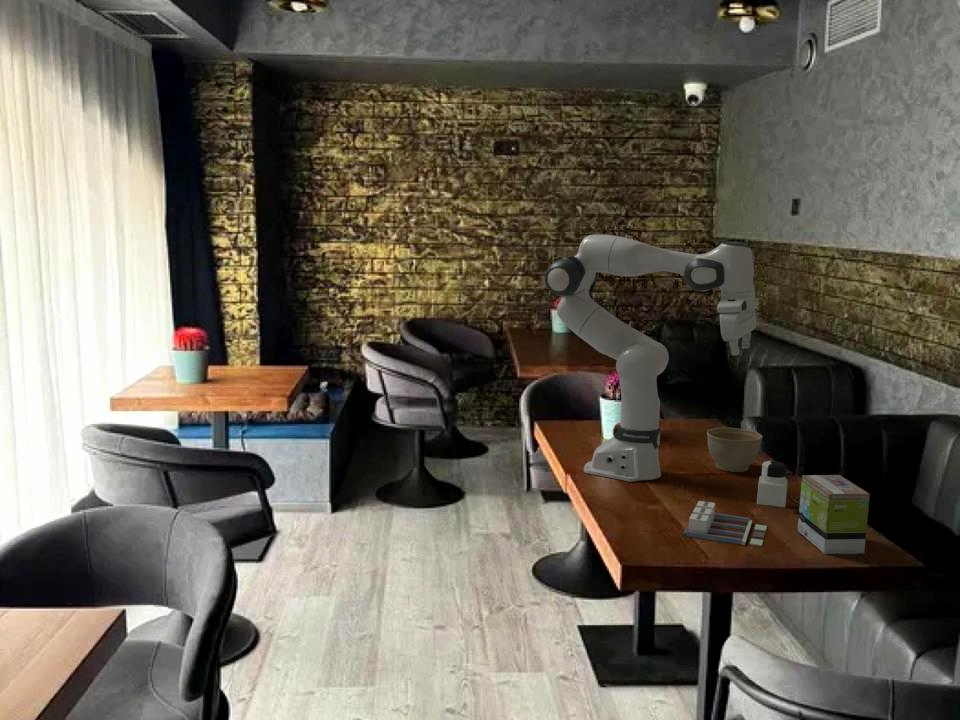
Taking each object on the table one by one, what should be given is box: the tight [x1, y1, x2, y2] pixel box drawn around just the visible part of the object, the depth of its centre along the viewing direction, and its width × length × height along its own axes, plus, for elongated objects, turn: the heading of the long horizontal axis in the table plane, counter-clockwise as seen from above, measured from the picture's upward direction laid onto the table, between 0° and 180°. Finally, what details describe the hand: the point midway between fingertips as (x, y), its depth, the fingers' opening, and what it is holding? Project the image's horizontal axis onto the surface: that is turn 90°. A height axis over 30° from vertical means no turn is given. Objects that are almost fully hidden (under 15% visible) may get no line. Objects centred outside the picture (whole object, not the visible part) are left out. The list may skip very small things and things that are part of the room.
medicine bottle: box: [756, 460, 788, 508], centre depth 243 cm, size 7×7×12 cm
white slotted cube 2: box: [692, 506, 712, 528], centre depth 221 cm, size 4×4×4 cm
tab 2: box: [688, 513, 709, 534], centre depth 216 cm, size 4×4×4 cm
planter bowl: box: [706, 427, 763, 473], centre depth 279 cm, size 16×16×11 cm
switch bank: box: [682, 512, 768, 547], centre depth 220 cm, size 23×18×2 cm
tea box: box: [797, 474, 871, 555], centre depth 216 cm, size 15×10×15 cm
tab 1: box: [695, 500, 716, 521], centre depth 226 cm, size 4×4×4 cm
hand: (740, 351), depth 251 cm, fingers open, 8 cm apart
